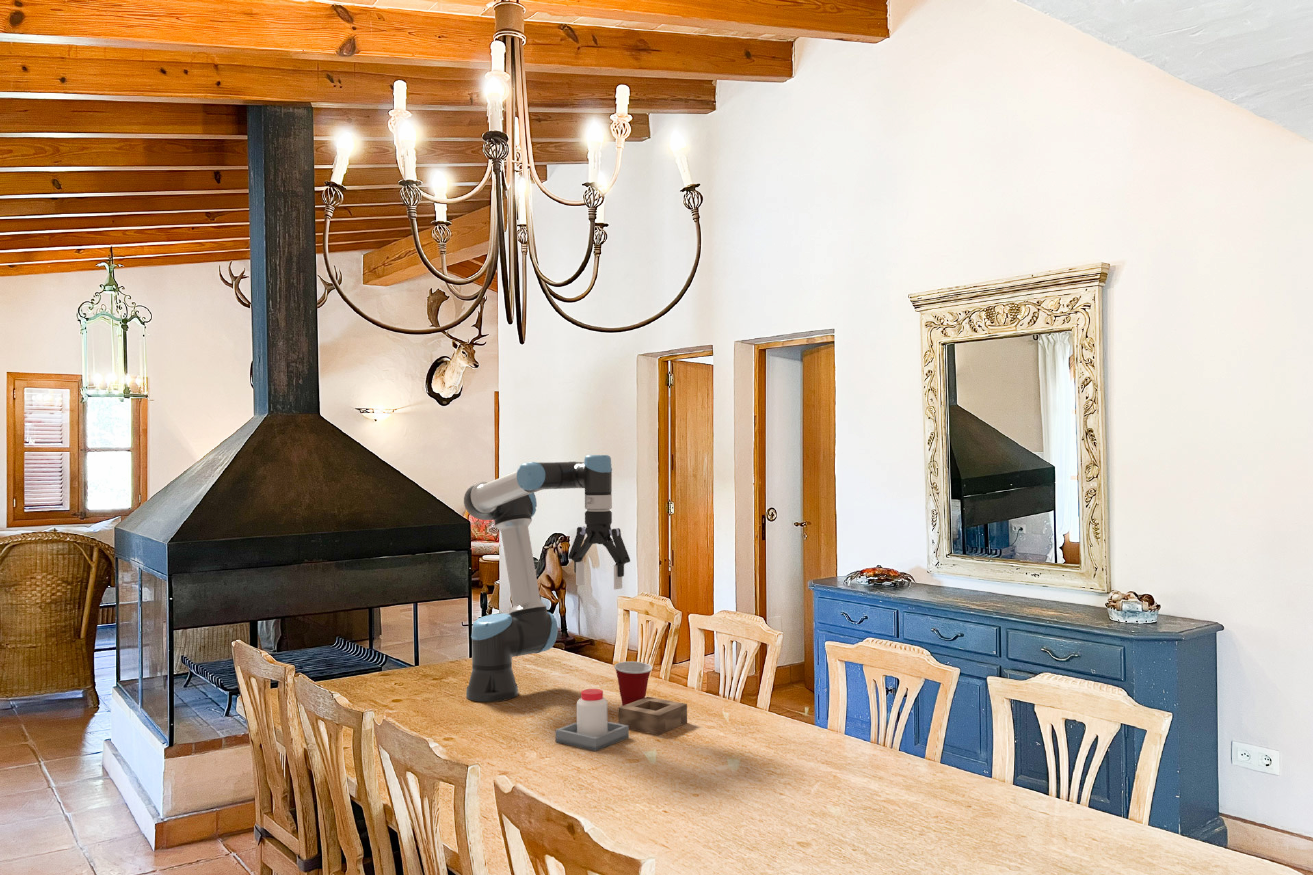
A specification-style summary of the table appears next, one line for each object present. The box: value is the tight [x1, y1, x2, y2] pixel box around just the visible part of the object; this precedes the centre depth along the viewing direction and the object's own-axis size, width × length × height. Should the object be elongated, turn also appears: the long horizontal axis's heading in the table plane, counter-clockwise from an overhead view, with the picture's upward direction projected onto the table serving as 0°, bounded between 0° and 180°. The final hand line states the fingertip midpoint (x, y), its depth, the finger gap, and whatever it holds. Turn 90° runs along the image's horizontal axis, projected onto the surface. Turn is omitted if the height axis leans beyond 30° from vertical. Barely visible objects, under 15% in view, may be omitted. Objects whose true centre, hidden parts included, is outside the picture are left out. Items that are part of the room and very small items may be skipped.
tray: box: [554, 721, 630, 752], centre depth 231 cm, size 13×13×3 cm
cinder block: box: [617, 696, 688, 736], centre depth 244 cm, size 13×13×5 cm
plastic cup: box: [613, 660, 653, 706], centre depth 260 cm, size 11×11×12 cm
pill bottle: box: [576, 688, 609, 737], centre depth 232 cm, size 8×8×11 cm
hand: (598, 586), depth 256 cm, fingers open, 13 cm apart
